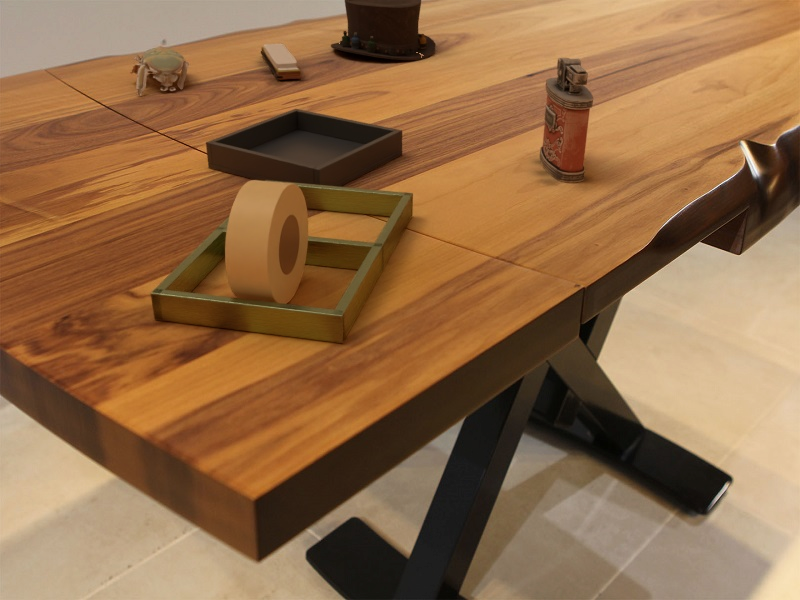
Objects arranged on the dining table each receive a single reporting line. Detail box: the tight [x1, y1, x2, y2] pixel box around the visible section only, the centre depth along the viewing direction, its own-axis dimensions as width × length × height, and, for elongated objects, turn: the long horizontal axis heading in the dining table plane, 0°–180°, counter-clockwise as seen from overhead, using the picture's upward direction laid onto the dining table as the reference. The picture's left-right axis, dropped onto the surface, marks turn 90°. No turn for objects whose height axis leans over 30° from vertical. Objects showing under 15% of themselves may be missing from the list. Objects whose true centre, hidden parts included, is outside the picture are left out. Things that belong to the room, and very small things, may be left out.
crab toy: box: [130, 45, 191, 97], centre depth 106 cm, size 9×11×5 cm
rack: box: [150, 180, 414, 344], centre depth 63 cm, size 13×21×2 cm, turn 167°
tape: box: [224, 179, 309, 304], centre depth 57 cm, size 3×8×8 cm, turn 167°
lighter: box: [539, 57, 594, 183], centre depth 79 cm, size 8×3×10 cm, turn 6°
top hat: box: [330, 0, 436, 61], centre depth 121 cm, size 15×15×10 cm
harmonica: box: [260, 43, 302, 81], centre depth 114 cm, size 15×3×2 cm, turn 16°
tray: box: [205, 108, 403, 187], centre depth 82 cm, size 13×13×2 cm
